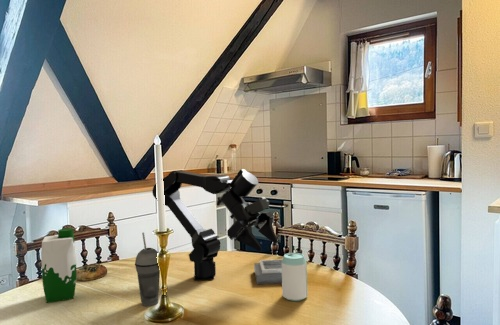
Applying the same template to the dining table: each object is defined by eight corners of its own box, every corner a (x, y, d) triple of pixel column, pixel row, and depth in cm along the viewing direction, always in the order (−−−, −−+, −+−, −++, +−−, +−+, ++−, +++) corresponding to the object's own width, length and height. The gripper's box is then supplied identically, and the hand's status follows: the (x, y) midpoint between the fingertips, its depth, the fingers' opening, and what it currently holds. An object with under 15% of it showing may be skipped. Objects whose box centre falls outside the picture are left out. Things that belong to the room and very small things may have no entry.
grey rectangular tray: (257, 284, 116) (256, 271, 116) (254, 271, 128) (254, 259, 127) (301, 282, 116) (301, 269, 116) (294, 269, 128) (294, 257, 128)
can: (279, 300, 103) (278, 257, 103) (286, 291, 110) (285, 251, 109) (303, 303, 101) (302, 260, 100) (310, 293, 107) (309, 253, 107)
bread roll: (112, 269, 134) (110, 256, 134) (101, 285, 123) (99, 271, 123) (81, 272, 134) (79, 259, 133) (67, 287, 123) (65, 273, 122)
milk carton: (77, 299, 108) (73, 231, 108) (41, 305, 105) (38, 235, 104) (78, 289, 116) (75, 226, 116) (45, 294, 113) (42, 229, 112)
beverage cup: (156, 309, 100) (153, 235, 99) (131, 307, 101) (128, 235, 100) (167, 298, 107) (164, 229, 106) (144, 297, 108) (141, 229, 108)
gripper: (234, 192, 104) (269, 236, 98) (268, 186, 119) (300, 223, 114) (213, 218, 108) (245, 261, 103) (248, 208, 124) (278, 245, 118)
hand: (269, 246), depth 109 cm, fingers open, 9 cm apart
